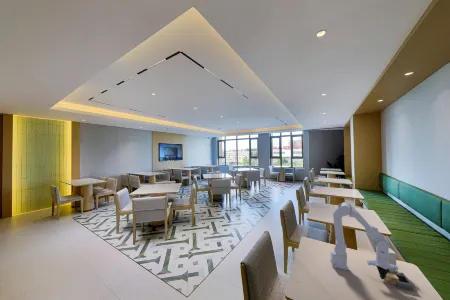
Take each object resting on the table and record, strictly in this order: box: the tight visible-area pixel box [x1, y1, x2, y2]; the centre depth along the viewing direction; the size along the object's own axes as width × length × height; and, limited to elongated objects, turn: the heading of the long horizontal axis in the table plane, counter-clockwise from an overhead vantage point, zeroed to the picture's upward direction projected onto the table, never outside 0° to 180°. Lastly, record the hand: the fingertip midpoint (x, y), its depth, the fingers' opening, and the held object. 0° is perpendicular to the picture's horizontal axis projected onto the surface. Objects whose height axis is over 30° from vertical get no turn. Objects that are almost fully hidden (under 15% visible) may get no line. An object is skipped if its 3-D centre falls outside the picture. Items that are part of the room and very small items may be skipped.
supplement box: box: [388, 247, 397, 273], centre depth 118 cm, size 7×7×13 cm
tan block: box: [383, 272, 400, 286], centre depth 107 cm, size 6×3×4 cm, turn 70°
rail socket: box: [389, 272, 415, 292], centre depth 106 cm, size 7×10×3 cm
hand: (381, 278), depth 108 cm, fingers closed
